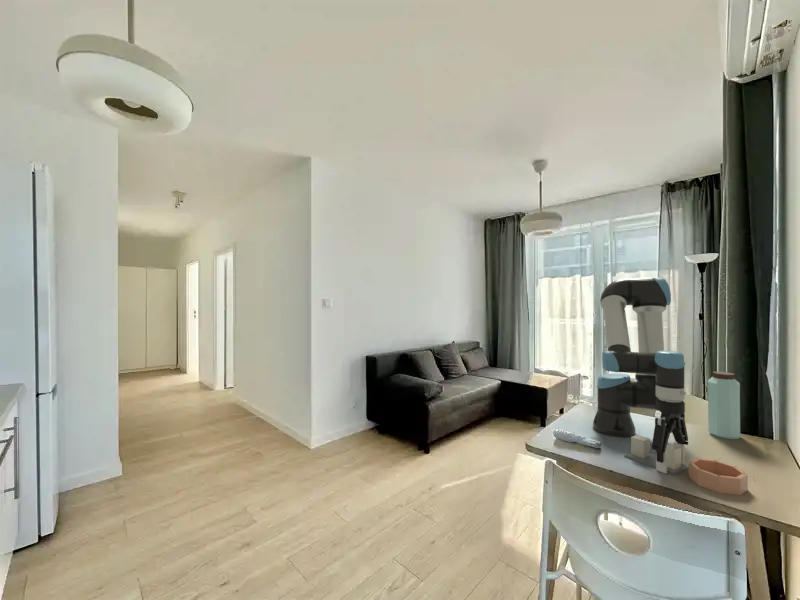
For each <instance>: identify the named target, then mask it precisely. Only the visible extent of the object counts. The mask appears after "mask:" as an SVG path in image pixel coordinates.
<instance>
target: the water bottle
mask: <svg viewBox="0 0 800 600" xmlns="http://www.w3.org/2000/svg"><path fill="white" fill-rule="evenodd" d="M707 408H708V410H707V416H708V417H707V418H708V419H707V421H708V424H707V425H708V429H707V430H708V432H709V433H710V435H712V436H715V437H717V438H721V439H727V440H739V439H740V438H741V384H740V382H739V381H738V380H736V379H735V373H732V372H727V371H712V376H711V377H710V378H709V379H708V380H707Z"/></svg>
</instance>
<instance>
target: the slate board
mask: <svg viewBox="0 0 800 600" xmlns="http://www.w3.org/2000/svg"><path fill="white" fill-rule="evenodd" d="M623 456H624V457H625V458H627V459H628V460H631V461H636V462H638V463H641V464H643V465H646V466H648V467H651V468H654V469H656V454H654V453H651V452H650V456H649V457H646V458H641V457H638V456H635V455H632V454H631V451H630V452H627V453H624V455H623ZM686 470H689V465H686V464H685V465H684V464H681V467H679V468H677V469H675V470H674V469H672V468H669V467H667V473H666V474H671V475H673V476H676V475H678V474H680V473H682V472H685V471H686Z"/></svg>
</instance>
